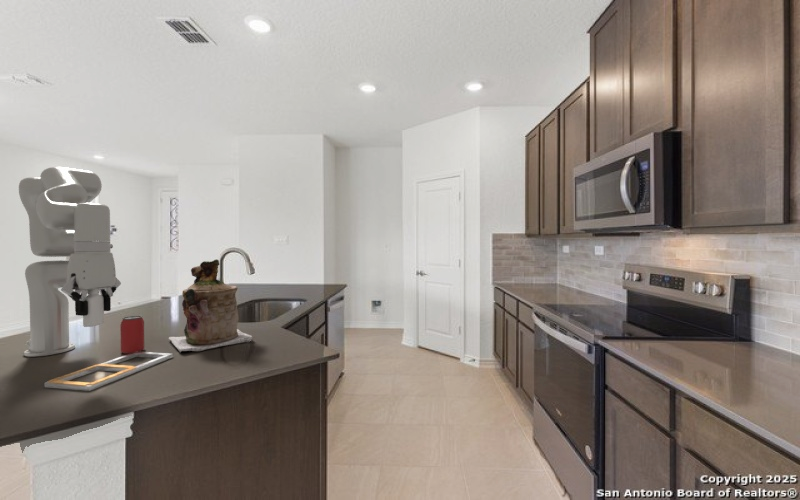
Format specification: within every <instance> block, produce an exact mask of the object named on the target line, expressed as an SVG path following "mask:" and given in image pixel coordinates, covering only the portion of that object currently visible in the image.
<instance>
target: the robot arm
mask: <svg viewBox="0 0 800 500" xmlns="http://www.w3.org/2000/svg"><path fill="white" fill-rule="evenodd" d="M102 186H103V185H102V181H101V179H100V177H99V176H98V175H97V173H95V172H94V171H90V170H83V169H76V168H69V167H62V166H51V167H48V168H46V169H44V170H43V171H41V173H40V177H39V176H37V177H36V176H32V177H31V176H30V177H25V178H23V179H21V180H20V181H19V184H18V195H19V199H20V201H21V203H22V206H23V207H24V209H25V211H26V213H27V216H28V222H29V223H28V224H29V225H28V226H29V227H28V228H29V229H28V230H29V244H30V250H31V252H32V254H33V255H35V256H37V257H42V258H43V257H44V258H45V257H46V258H56V257H57V258H61V257H63V258H65V257H67V258H68V260H42V261H41V260H40V261H35V262H33V263H30V264H29V265H27V266H26V268H25V271H24V277H25V281H26V285H27V290H28V297H29V299H28V300H29V333H30V334H29V335H30V336H29V337H30V339H28V340H27V341H25V342H24V345H25V346H28V349H27V350H24V351H23V356H25V357H36V358H37V357H45V356H52V355H57V354H63V353H66V352H69V351H71V350H73V349H75V348H76V344H75V343H73V342H70V321H69V320H70V317H69V316H70V308H69V307H70V305H69V298H71V299H72V301H74V311H75V315H76V316H82V317H83V316H85V315H88V301H85V299H86V296H88V290H90V289H98V288H99V295H102V296H103V298H104V312H110V311H111V306H112V305H111V303H112V301H111V298H112V297H113V296H114V292H116V290H117V289H118V288H119V287H120V286H121V284H122V282H121V281H120V280H119V279H118V278H117V273H116V266H115V265H116V264H115V258H114V254H113V252H111V249H113V248H114V245H113V243H111V210H110V207H109V206H108V205H105V204H101V203H92V201H94V200H95V199H96V198H97V197H98V196H100V193H101V191H102ZM60 288H61V289H60ZM59 289H60V290H59ZM66 295H67V296H68V297H69V298H68V297H67V296H66Z"/></svg>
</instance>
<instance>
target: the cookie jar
mask: <svg viewBox="0 0 800 500" xmlns="http://www.w3.org/2000/svg"><path fill="white" fill-rule="evenodd" d="M219 266H220V261H219V259H214V260H212V261H209V260H207V261H206V260H205V261H202V262H201V263H200V265H198V266H193V267H192V268H191V269H190V272H191V276H192V277H195V279H194V280H193V283H192V284H191V285H190V286H188V287H187V288H186V289H183V290H182V293H181V295H182V297H183V300H182V302H181V303H182V311H183V315H184V317H186V324H185V327H184V329H183V333H184V336H169V337H168V340H169V341H170V342H171V344H172V345H173V346H174V347H175V349H177V350H178V351H179V353H181V352H187V351H189V352H190V351H192V352H202V351H205V350H210V349H215V348H220V347H225V346H228V345H229V346H230V345H235V344H241V343H246V342H247V343H249V342H250V341H251V342H252V339H253V335H251V334H248V333H245V332H242V331H241V330H240V329H238V325H239V311H238V303H237V302H238V301H237V298H236V293H237V291H238V290H239V289H238V287H237V286H236V285H229V284H227V283H225V282H224V281H222V280H219V279H217V278H218V274H219ZM251 342H250V343H251Z"/></svg>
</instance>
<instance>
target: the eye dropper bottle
mask: <svg viewBox="0 0 800 500" xmlns="http://www.w3.org/2000/svg"><path fill="white" fill-rule="evenodd" d="M85 301H88V315H85V316H82V326H83V327H84V328H92V327H96V326H100V325H102V324H103V323H105V311H104V298H103V296H102V295H101V294H100V291H99V288H98V289H90V290H88V293H87V296H86V299H85Z"/></svg>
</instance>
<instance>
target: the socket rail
mask: <svg viewBox="0 0 800 500" xmlns="http://www.w3.org/2000/svg"><path fill="white" fill-rule="evenodd" d="M137 357H139V358H152V359H151V360H149V361H146V362H143V363H140V364H138V365H136V366H134V365H127V364H126V365H125V364H119V363H123V362H125V361H128V360H132V359H133V358H137ZM172 358H174V353H169V352H152V351H140V352H134V353H130V354H125V355H122V356H119V357H116V358H114V359H110V360H108V361H105V362H101V363H99V364H93V365H92V366H87V367H84V368H82V369H79V370H76V371H73V372H70V373H67V374H63V375H61V376H58V377H55V378H52V379H49V380H47V381H45V382H44V388H49V389H51V388H52V389H59V390H60V389H61V390H62V389H63V390H73V391H74V390H75V391H85V392H90V391H93V390H96V389H98V388H100V387H102V386H106V385H108V384H110V383H113V382H115V381H118V380H121V379H123V378H126V377H128V376H130V375H133V374H135V373H137V372H140V371H144V370H146V369H147V368H150V367H153V366H155V365H158V364H160V363H163V362H165V361H167V360H170V359H172ZM97 371H104V372H115V373H113V374H112V373H111V374H110V375H108V376H105V377H102V378H100V379H97V380H95V381H92V382H83V381H74V380H75V379H77V378H80V377H81V378H82V377H83V376H86V375H88V374H91V373H95V372H97ZM72 380H73V381H72Z"/></svg>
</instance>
